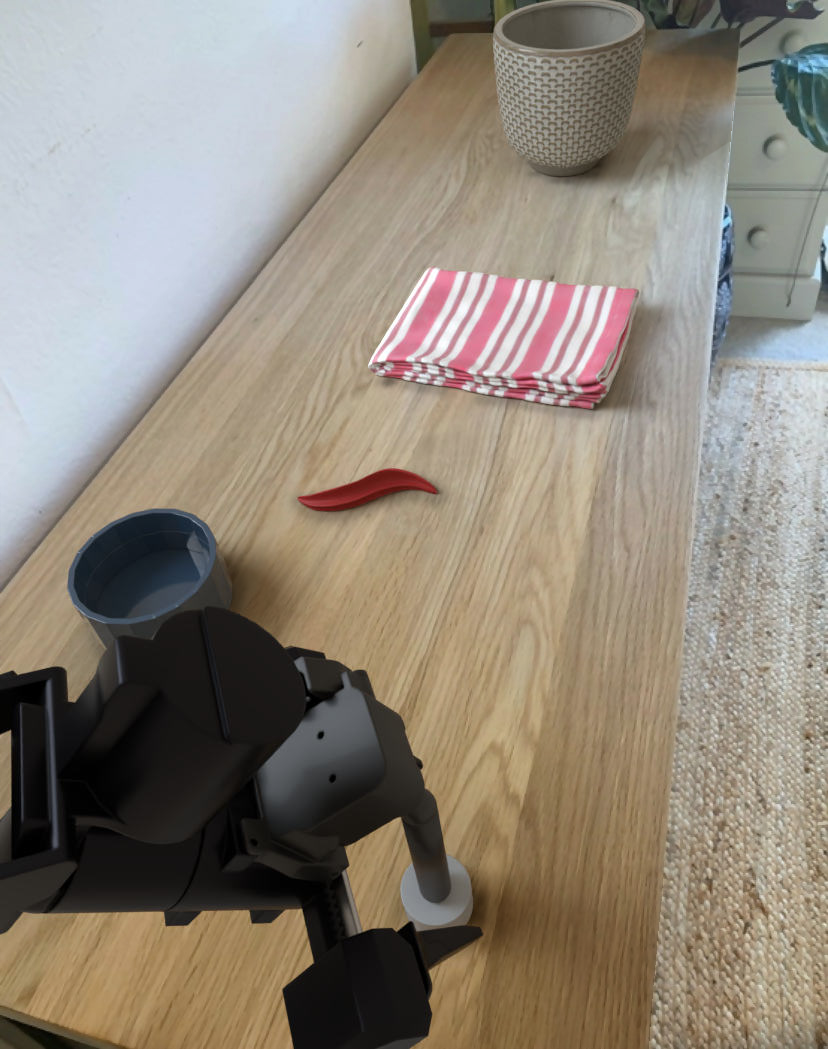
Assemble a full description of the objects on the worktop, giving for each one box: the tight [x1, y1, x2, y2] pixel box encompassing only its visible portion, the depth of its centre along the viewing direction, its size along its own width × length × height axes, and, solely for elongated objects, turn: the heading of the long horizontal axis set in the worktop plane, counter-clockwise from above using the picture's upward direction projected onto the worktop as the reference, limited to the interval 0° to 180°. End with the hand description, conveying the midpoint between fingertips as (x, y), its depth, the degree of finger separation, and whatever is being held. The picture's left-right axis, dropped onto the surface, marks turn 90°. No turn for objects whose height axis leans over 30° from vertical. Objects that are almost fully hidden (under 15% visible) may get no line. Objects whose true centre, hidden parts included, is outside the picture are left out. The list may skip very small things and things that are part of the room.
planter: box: [492, 0, 646, 177], centre depth 103 cm, size 17×17×16 cm
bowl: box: [66, 507, 234, 651], centre depth 65 cm, size 11×11×5 cm
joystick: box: [399, 787, 474, 931], centre depth 45 cm, size 4×4×14 cm
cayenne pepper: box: [297, 467, 438, 512], centre depth 72 cm, size 12×5×2 cm, turn 83°
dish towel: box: [367, 266, 640, 410], centre depth 84 cm, size 17×23×4 cm
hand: (445, 846), depth 44 cm, fingers open, 9 cm apart
